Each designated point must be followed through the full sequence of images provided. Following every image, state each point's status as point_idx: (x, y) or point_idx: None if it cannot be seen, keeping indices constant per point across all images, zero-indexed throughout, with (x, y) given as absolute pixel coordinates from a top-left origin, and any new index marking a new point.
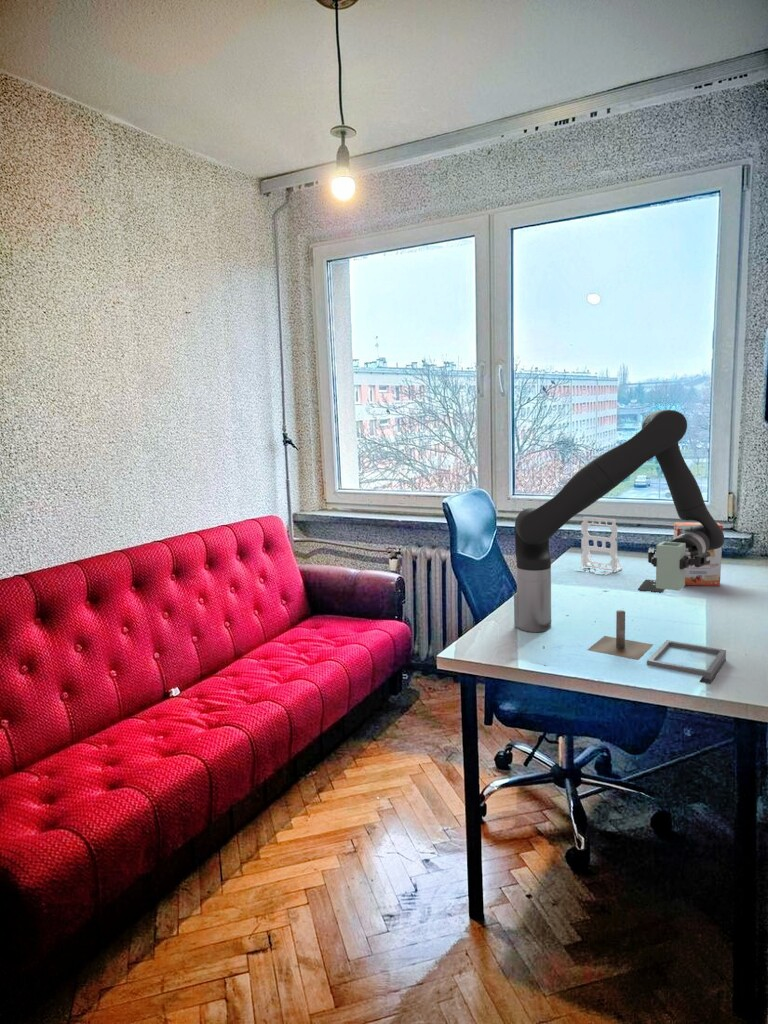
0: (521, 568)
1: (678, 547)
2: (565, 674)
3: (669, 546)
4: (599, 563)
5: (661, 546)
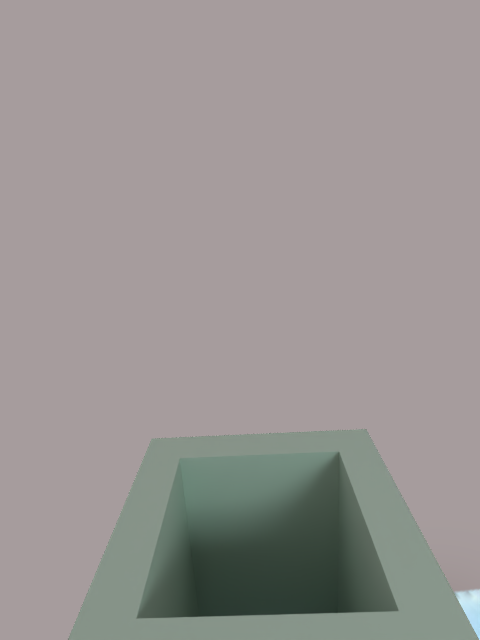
0: None
1: (167, 443)
2: (471, 599)
3: (246, 435)
4: None
5: (319, 438)
